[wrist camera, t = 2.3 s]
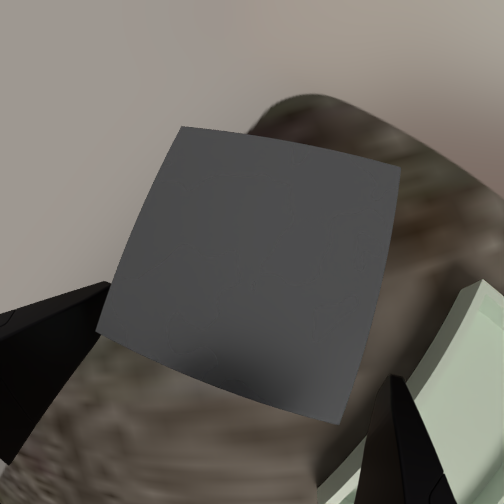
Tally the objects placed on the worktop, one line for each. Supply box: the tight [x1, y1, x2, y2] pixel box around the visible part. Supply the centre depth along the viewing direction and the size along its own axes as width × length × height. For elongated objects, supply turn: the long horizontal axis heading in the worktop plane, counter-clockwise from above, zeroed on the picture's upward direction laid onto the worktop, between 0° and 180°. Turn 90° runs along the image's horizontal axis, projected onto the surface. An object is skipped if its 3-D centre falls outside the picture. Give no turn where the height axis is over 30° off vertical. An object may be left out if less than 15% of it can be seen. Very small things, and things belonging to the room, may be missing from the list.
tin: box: [95, 126, 401, 425], centre depth 13 cm, size 6×6×12 cm
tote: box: [317, 279, 504, 504], centre depth 13 cm, size 15×11×3 cm
